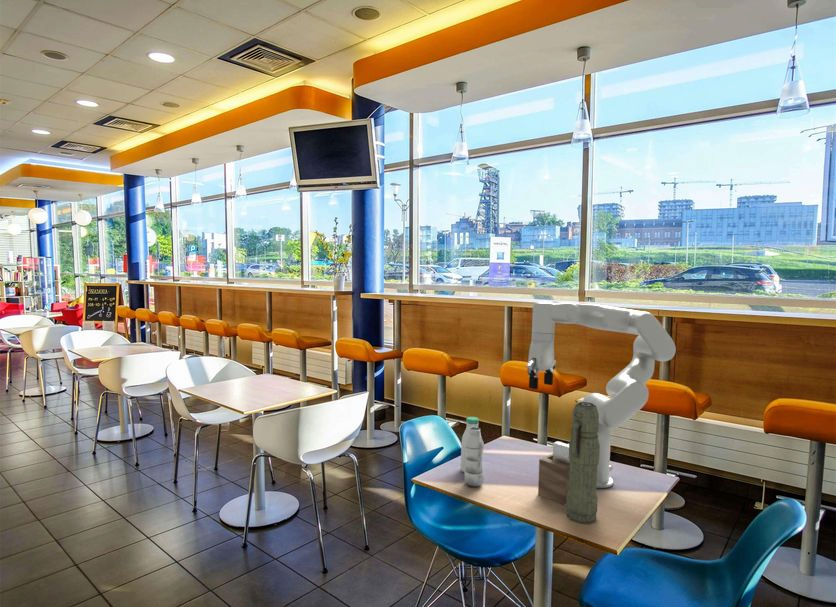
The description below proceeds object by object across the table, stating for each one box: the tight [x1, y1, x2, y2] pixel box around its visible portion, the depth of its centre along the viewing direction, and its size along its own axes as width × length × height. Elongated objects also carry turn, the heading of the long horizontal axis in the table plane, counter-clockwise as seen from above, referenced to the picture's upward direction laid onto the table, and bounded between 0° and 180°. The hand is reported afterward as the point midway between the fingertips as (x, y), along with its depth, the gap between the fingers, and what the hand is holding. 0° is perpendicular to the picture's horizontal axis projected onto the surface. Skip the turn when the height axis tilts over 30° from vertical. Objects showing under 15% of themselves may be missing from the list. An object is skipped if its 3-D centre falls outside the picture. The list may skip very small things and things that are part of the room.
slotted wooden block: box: [537, 453, 570, 505], centre depth 170 cm, size 10×10×12 cm
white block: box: [552, 441, 570, 465], centre depth 170 cm, size 2×6×10 cm, turn 43°
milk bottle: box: [460, 416, 482, 474], centre depth 190 cm, size 8×8×20 cm
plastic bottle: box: [463, 426, 485, 487], centre depth 177 cm, size 6×7×20 cm
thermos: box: [566, 401, 600, 525], centre depth 155 cm, size 9×12×35 cm
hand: (540, 386), depth 177 cm, fingers open, 9 cm apart
